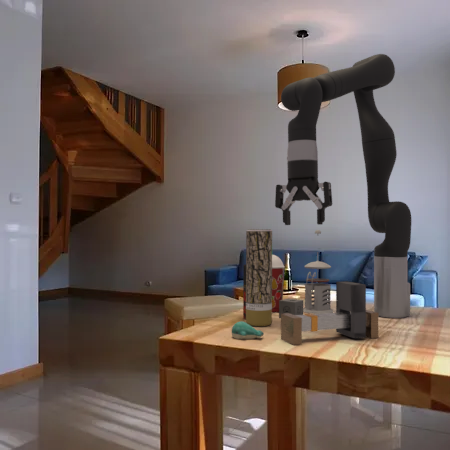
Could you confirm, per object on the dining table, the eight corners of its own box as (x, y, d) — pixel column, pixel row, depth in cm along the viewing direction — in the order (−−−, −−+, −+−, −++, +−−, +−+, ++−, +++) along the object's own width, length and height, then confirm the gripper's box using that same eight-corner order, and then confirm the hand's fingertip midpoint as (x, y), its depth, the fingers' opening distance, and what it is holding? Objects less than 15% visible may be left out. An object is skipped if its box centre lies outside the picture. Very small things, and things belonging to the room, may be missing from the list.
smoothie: (287, 309, 148) (287, 245, 148) (281, 314, 140) (281, 246, 140) (261, 308, 151) (261, 245, 151) (254, 312, 143) (254, 245, 143)
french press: (338, 310, 147) (338, 229, 148) (325, 315, 138) (325, 229, 138) (308, 307, 153) (309, 229, 153) (293, 312, 143) (294, 229, 143)
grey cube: (294, 320, 131) (294, 302, 131) (279, 318, 134) (279, 300, 134) (303, 317, 135) (303, 300, 135) (287, 315, 138) (287, 298, 138)
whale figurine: (237, 334, 113) (237, 318, 113) (266, 337, 110) (266, 321, 110) (227, 339, 108) (227, 323, 108) (258, 342, 105) (258, 325, 105)
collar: (346, 331, 115) (346, 281, 115) (365, 337, 108) (365, 284, 108) (336, 331, 114) (336, 281, 114) (354, 338, 107) (354, 285, 107)
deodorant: (241, 316, 135) (242, 264, 136) (262, 316, 136) (262, 264, 136) (244, 320, 129) (244, 265, 130) (266, 320, 130) (266, 265, 130)
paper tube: (270, 327, 120) (270, 229, 121) (243, 326, 122) (244, 229, 122) (273, 322, 127) (273, 229, 127) (247, 321, 128) (248, 229, 129)
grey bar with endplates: (362, 332, 115) (362, 308, 115) (378, 337, 110) (378, 312, 110) (280, 339, 108) (281, 313, 108) (293, 345, 102) (293, 318, 102)
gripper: (334, 159, 119) (335, 224, 119) (282, 164, 126) (282, 225, 126) (325, 156, 112) (326, 224, 112) (270, 160, 119) (271, 225, 119)
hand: (303, 224), depth 119 cm, fingers open, 8 cm apart
